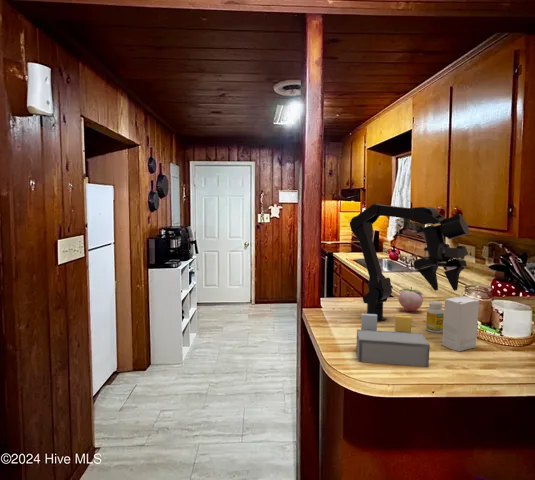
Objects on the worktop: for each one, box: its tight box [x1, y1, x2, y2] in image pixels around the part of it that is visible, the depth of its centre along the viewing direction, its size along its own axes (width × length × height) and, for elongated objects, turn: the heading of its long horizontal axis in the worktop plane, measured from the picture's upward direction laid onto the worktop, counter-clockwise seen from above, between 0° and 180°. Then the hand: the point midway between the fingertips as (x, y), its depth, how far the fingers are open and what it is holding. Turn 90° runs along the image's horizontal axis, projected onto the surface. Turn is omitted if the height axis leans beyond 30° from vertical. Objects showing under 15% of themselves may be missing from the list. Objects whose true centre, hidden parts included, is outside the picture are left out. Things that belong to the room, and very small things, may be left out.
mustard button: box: [394, 315, 413, 333], centre depth 112 cm, size 10×4×8 cm, turn 171°
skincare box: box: [441, 295, 480, 352], centre depth 116 cm, size 8×6×15 cm
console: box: [355, 329, 431, 368], centre depth 107 cm, size 9×18×6 cm, turn 81°
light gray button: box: [360, 313, 378, 331], centre depth 114 cm, size 10×4×8 cm, turn 171°
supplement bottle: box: [425, 301, 444, 334], centre depth 131 cm, size 5×5×10 cm
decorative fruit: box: [398, 286, 424, 312], centre depth 154 cm, size 9×8×10 cm
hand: (446, 290), depth 121 cm, fingers open, 9 cm apart
